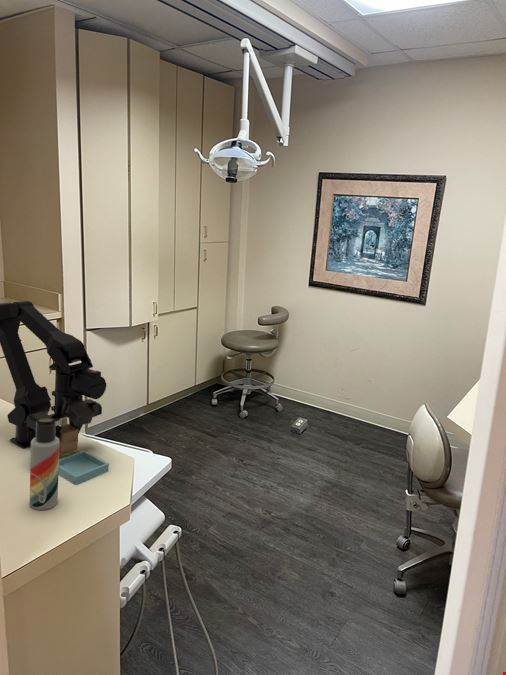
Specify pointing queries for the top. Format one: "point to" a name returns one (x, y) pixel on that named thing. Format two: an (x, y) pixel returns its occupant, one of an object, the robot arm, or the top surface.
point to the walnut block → (68, 439)
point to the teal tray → (81, 467)
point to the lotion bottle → (44, 465)
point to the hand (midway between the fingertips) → (64, 445)
